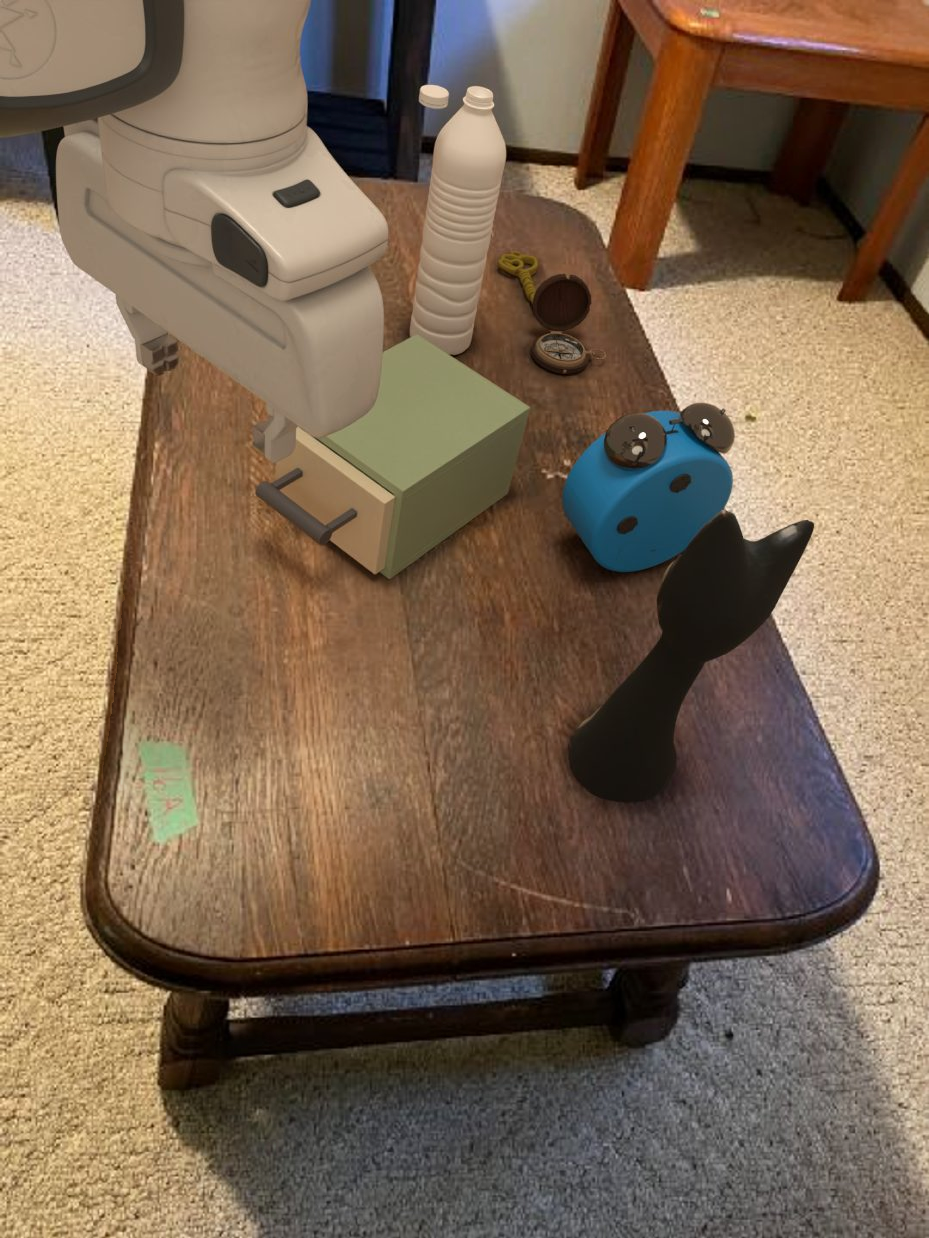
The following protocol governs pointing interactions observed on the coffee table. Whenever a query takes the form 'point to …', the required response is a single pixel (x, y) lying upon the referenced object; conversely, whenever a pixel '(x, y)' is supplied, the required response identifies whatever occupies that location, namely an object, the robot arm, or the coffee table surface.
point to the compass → (561, 323)
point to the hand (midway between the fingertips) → (214, 408)
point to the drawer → (331, 501)
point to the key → (521, 270)
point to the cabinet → (433, 446)
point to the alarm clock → (650, 485)
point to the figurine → (683, 652)
